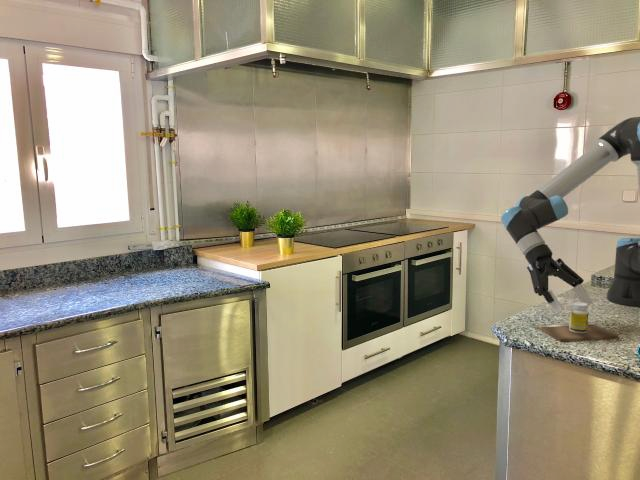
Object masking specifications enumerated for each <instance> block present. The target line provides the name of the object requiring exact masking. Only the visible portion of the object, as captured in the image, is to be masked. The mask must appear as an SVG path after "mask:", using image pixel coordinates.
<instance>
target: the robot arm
mask: <svg viewBox="0 0 640 480" xmlns="http://www.w3.org/2000/svg"><path fill="white" fill-rule="evenodd" d="M627 155H630V162H631V163H632V164H634V165H635V166H636V170H637V171H636V172H637V181H638V195H639V199H640V116H634V117H628V118H626V119H624V120H622V121H620V122H619V123H617V124H616V125H615V126H613V127H612V128H610V129H609V130H608V131H606V132H605V133H604V134H602V135H601V136H600V137H599V138H597V139H596V140H595V145H594V146H592V147H591V148H589V149H588V150H587V151H586V152H584V153H583V154H582V155H580V156H579V157H578V158H576V160H574V161H572V162H571V163H570V164H569V165H568V166H566V167H565V168H564V169H562V170H561V171H560V172H559V173H557V174H556V175H555V176H554V177H552V178H551V179H549V180H548V181H547V182H545V183H544V184H543V185H542V186H540V187H539V188H538V189H537V190H535V191H533V193H531V194H530V195H525V196H522V197H520V198H519V199H518V201H517V202H516V206H511V207H509V208H507V210H505V211H503V213H502V214H501V217H500V220H501V223H502V224H503V226H504V228H505V230H506V231H507V232H508V234H509V235H510V236H511V238H512V239H513V241H514V242H515V244H516V245H517V247H518V248H519V250H520V252H521V253H522V255H523V256H525V257H524V258H525V260H526V261H527V263H528V266H527V267H526V269H527V270H528V272H529V275H530V280H531V283H532V287H533V291H534V293H535V294H537V296H538V297H539V296H540V297H542V296H543V298H544V300H546V302H547V303H548V305H549V306H550V307H551V309H552V310H553V311H554V313H555V314H556V315H558V314H559V313H561V312H562V311H564V310H565V309H564V307H563V305H562V304H561V302H560V301H559V299H558V298H557V297H556V295H555V293H554V292H553V290H552V289H549V276H550V277H557V278H559V279H560V280H562V281H563V282H565V283H566V284H568V285H569V286H571V287H572V290H573V292H574V293H575V295H576V296H577V297H578V299H579V301H580V302H583V303H586V304H588V307H589V306H590V305H591V304H593V303H594V301H593V300H592V298H591V297H590V295H589V294H588V292H587V291H586V289H585V288H584V287H583V285H582V284H583V283H584V282H585V280H584V279H583V277H582V276H580V275H579V274H578V273H576V271H574V270H573V269H572V268H570V267H569V266H568V265H567V264H566V263H565V262H564V261H563V259H562V258H561V257H559V258H557V259H556V260H554V259H553V251H552V249H551V248H550V247H549V245H548V244H546V241H545V240H544V238H543V237H542V235H541V233H539V231H538V230H540V229H541V228H544V227H546V226H548V225H550V224H553V223H555V222H557V221H560V220H562V219H563V218H564V217H566V216H567V215H568V214H569V207H568V205H567V203H566V201H565V200H564V198H565V197H566V196H568V194H570V193H571V192H572V191H574V190H575V189H577V188H578V187H580V185H582V184H583V183H585V182H586V181H587V180H588V179H590V178H591V177H592V176H594V175H596V173H598V172H599V171H600V170H602V169H603V168H604V167H606V166H607V165H608V164H610V163H611V162H617V161H619V160H620V159H621V158H623V157H625V156H627ZM614 261H615V262H614V271H613V272H614V273H613V274H614V275H613V279H612V281H611V283H610V286H609V289H608V290H607V292H606V300H608V301H610V302H612V303H614V304H619V305H622V306H628V307H629V306H631V307H640V237H621V238H619V239H618V240H617V242H616V247H615V260H614Z"/></svg>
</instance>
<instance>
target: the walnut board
mask: <svg viewBox="0 0 640 480" xmlns="http://www.w3.org/2000/svg"><path fill="white" fill-rule="evenodd" d="M569 325H570V322H569V323H554V324H553V323H552V324H538V325H536V328H537V330H540V331H541V332H543V333H545V334H546V335H548V336H549V337H551V338H553V339H555V340H557V341H558V342H560V343H561V342H562V343H563V342H574V341H575V342H576V341H577V342H579V341H592V340H593V341H594V340H609V339H618V338H619V335H618V334H616V333H614V332H612V331H609V330H608V329H606V328H604V327H601V326H599V325H598V324H595V323H594V322H591V321H588V326H587V332H586V333H583V334H581V333H574V332H571V331H570V330H569Z"/></svg>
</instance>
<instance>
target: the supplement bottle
mask: <svg viewBox="0 0 640 480" xmlns="http://www.w3.org/2000/svg"><path fill="white" fill-rule="evenodd" d="M571 304H572V306H571V307H572V308H571V309H570V311H569V312H570V313H569V314H570V315H569V323H570V325H569V330H570V331H571V332H574V333H581V334H583V333H586V332H587V326H588V322H589V311H588V310H589V309H588V308H589V306H588V304H586V303H583V302H581V301H574V302H572V303H571Z"/></svg>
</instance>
